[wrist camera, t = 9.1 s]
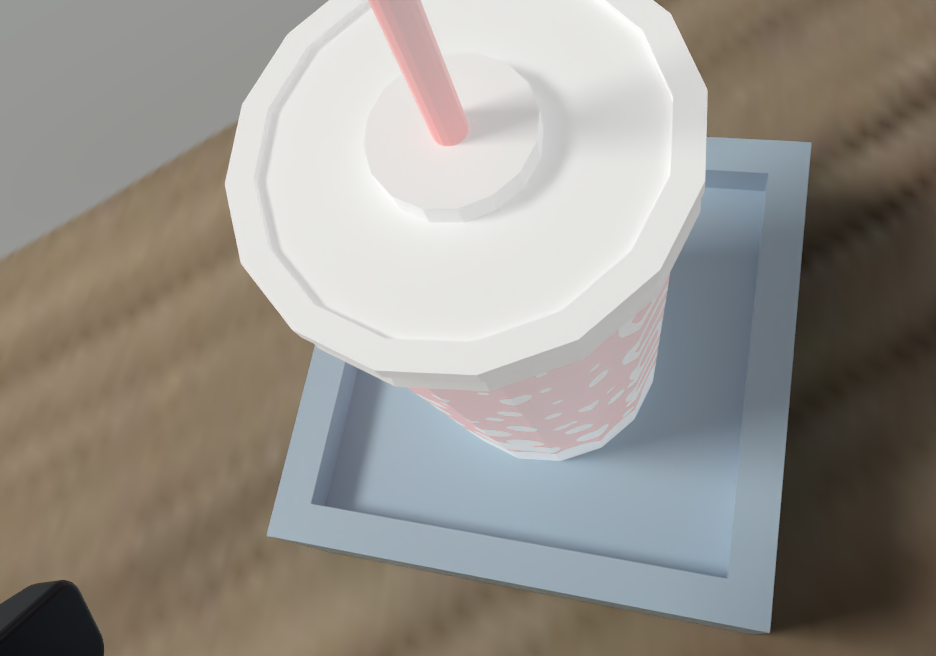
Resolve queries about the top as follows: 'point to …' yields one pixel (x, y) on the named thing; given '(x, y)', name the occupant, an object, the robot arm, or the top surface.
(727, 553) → the rectangular tray
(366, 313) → the beverage cup
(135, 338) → the top surface
